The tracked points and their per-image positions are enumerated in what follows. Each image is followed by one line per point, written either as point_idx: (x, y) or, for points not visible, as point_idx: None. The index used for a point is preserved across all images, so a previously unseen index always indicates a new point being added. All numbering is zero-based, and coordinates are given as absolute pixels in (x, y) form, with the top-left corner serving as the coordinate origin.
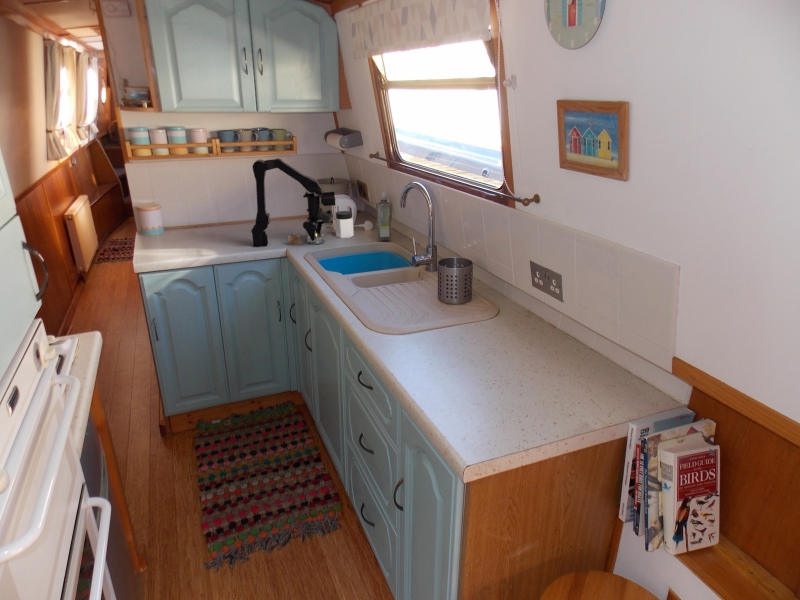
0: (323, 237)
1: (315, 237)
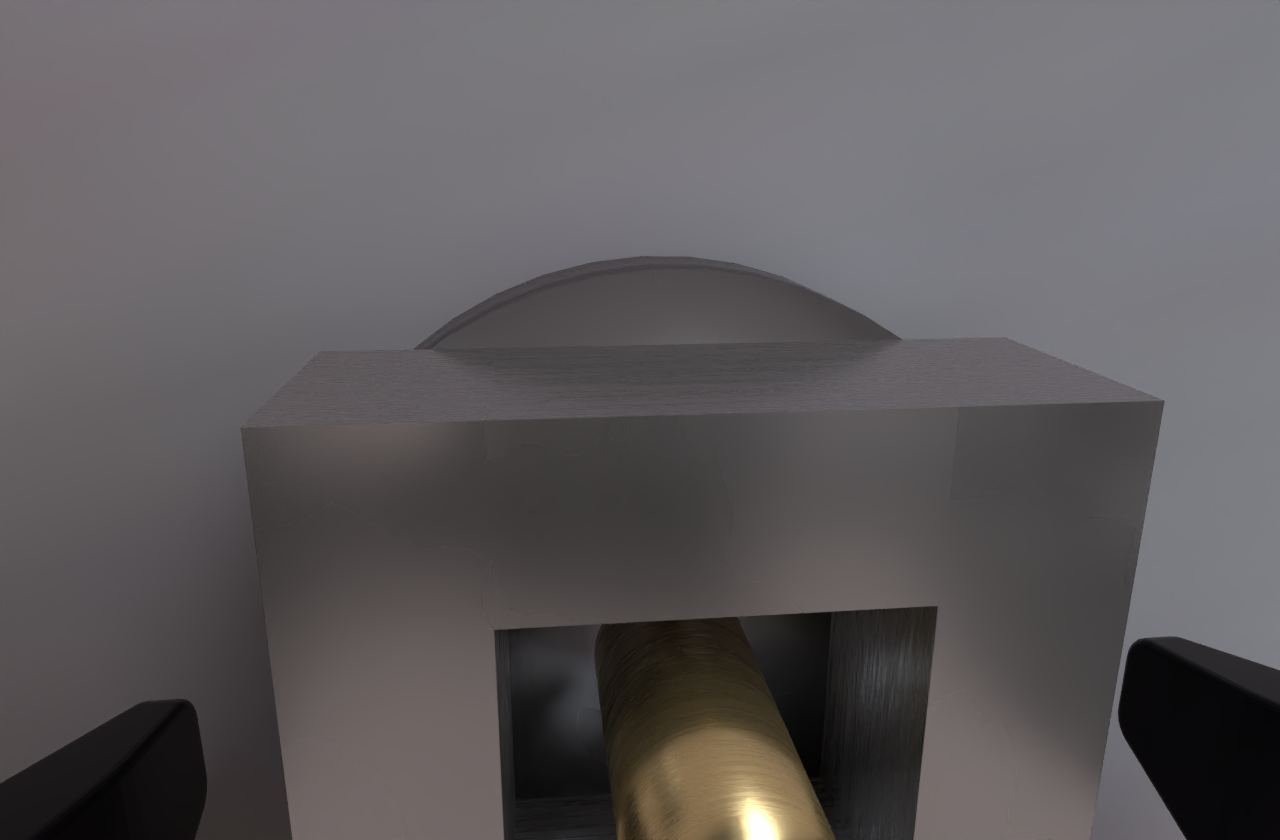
0: (521, 373)
1: (1103, 681)
